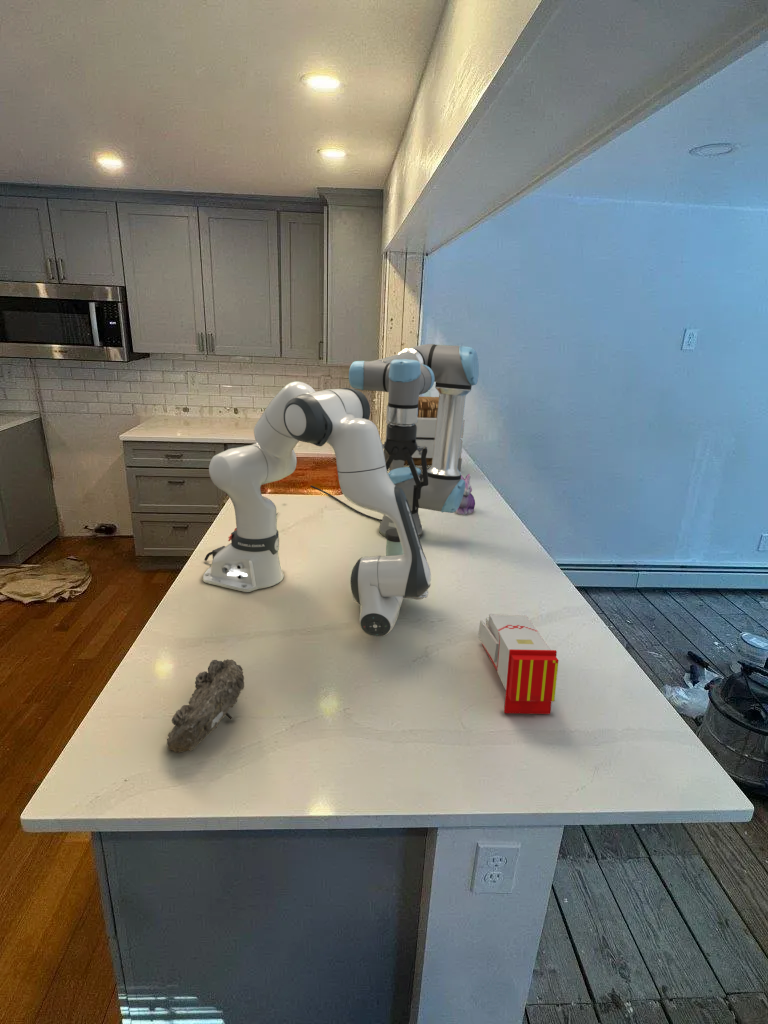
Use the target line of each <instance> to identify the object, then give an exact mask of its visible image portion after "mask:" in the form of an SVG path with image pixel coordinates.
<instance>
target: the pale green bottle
mask: <svg viewBox="0 0 768 1024" xmlns="http://www.w3.org/2000/svg"><path fill="white" fill-rule="evenodd" d="M385 541H386V542H385V556H392V555H402V554H404V552H403V548H402V545H401V542H392V541H388V540H387V539H386V538H385Z"/></svg>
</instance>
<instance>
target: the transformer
mask: <svg viewBox="0 0 768 1024" xmlns="http://www.w3.org/2000/svg"><path fill="white" fill-rule="evenodd" d="M438 401H439V396H419V400H418V417H417V423H416V424H415V425H416V426H417V433H416V443H417V445H418V446H421V447H424V446H426V447H427V455H426V463H427V467H431V466H432V459H433V449H434V439H435V430H436V420H437V411H438ZM387 413H388V404H387V405H386V413H385V414H386V415H385V423H386V428H385V438H384V442H383V444H385V442H386V437H387V425H388V423H389V422H388V421H387ZM464 429H465V419H464V418H463V423H462V432H461V441H460V449H459V458H458V466H457V468H458V470H459V471H460V473H461V472H462V461H463V460H462V453H463V442H464V441H463V440H462V439H463V438H464V431H465V430H464ZM383 451H384V456H385V462H386V461H387V459H388V457H389V454H388V453H387V451H386V450H385V448H384V449H383ZM412 459H413V462H414V464H415V467H417V466H418V467H422V463H421V455H419V452H418V451H417V450H416V451H415V453H414V454H413V455H412ZM405 466H406V467H409V465H408V463H407V460H406V461H402V460H394V459H393V461H392V463H391V465H390V467H389V472H390V471H391V470H393V469H397V468H402V467H405ZM461 474H462V473H461Z"/></svg>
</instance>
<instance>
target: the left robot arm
mask: <svg viewBox="0 0 768 1024" xmlns="http://www.w3.org/2000/svg"><path fill="white" fill-rule="evenodd" d="M370 417H371V406H370V402H369V400H368V397H367V396H366V395H365V394H364V393H363V392H362V391H361V390H359V389H354V388H352V387H351V388H350V387H341V388H327V389H322V390H318V391H316V390H315V389H314V388H313V387H312V386H311V385H309V384H308V383H306V382H303V381H295V380H294V381H291V382H289V383H287V384H285V385H284V386H283V388H281V389H280V390H279V391H278V392H277V393H276V395H275V396H274V397H273V398H272V400H271V401H270V402H269V404H268V405H267V406H266V408H265V409H264V411H263V412H262V414H261V415H260V417H259V419H258V420H257V422H256V424H255V425H254V427H253V436H254V440H255V442H254V443H252V444H249V445H244V446H238V447H232V448H228V449H226V450H223V451H220V452H219V453H217V454H214V456H212V458H210V462H209V465H208V475H209V478H210V480H211V482H212V484H213V485H214V486H215V487H216V488H217V489H218V490H221V491H222V492H223V493H225V494H226V496H228V497H229V499H230V501H231V503H232V505H233V509H234V515H235V525H236V526H235V528H234V530H233V531H232V532H231V533H230V535H229V536H228V540H227V541H228V542H230V543H229V544H227V545H222V546H220V547H217V548H214V549H213V550H211V551H209V552H208V553H207V554H206V555H205V556H204V559H203V561H205V562H207V561H208V560H209V558H210V556H212V560H211V565H210V567H208V568H207V570H206V571H205V572H204V573H203V577H202V581H203V583H205V584H209V585H214V586H218V587H222V588H227V589H231V590H235V591H239V592H242V593H250V592H251V593H252V592H253V591H256V590H261V589H266V588H270V587H273V586H275V585H278V584H279V583H280V582H282V581H283V579H284V578H285V574H284V571H283V567H282V565H281V561H280V555H279V550H280V538H279V537H280V535H279V530H278V519H277V517H278V514H277V513H278V511H277V505H276V504H275V503H274V502H273V500H271V498H268V497H266V496H264V495H263V494H262V489H261V487H262V485H267V484H270V483H274V482H278V481H281V480H283V479H285V478H286V477H289V476H290V475H292V474H293V473H294V472H295V471H296V468H297V463H298V459H297V454H296V451H295V448H296V446H297V445H298V443H299V442H303V443H308V444H312V445H315V446H316V447H323V446H324V445H325V444H326V443H327V444H328V445H330V447H331V448H332V449H333V451H334V455H335V462H336V471H337V478H338V484H339V487H340V488H339V489H340V491H341V493H342V495H343V496H344V497H345V498H346V499H347V501H349V502H350V503H352V504H354V505H355V506H356V507H359V508H362V509H366V510H369V511H371V512H372V511H373V512H375V513H378V514H381V515H382V516H383V515H385V516H387V517H389V518H390V519H391V520H392V521H393V522H394V524H395V526H396V529H397V532H398V535H399V539H400V542H401V545H402V548H403V552H404V554H402V555H392V556H386V555H372V556H361V557H360V558H359V559H357V561H356V562H355V563H354V565H353V567H352V570H351V574H350V590H351V593H352V599H353V600H352V601H353V602H355V603H357V604H358V605H359V607H360V611H359V626H360V629H361V630H362V631H363V632H364V633H365V634H367V635H369V636H371V637H383V636H386V635H388V634H389V633H390V632H392V630H393V629H394V627H395V625H396V623H397V620H398V618H399V615H400V609H401V607H402V604H403V600H404V599H407V600H415V601H420V600H423V599H426V598H428V596H429V588H430V587H431V584H432V583H431V581H432V571H431V568H430V564H429V562H428V560H427V557H426V554H425V552H424V549H423V546H422V543H421V539H420V537H419V536H418V533H417V529H416V526H415V523H414V519H413V516H412V513H411V510H410V507H409V504H408V501H407V498H406V496H405V494H404V492H403V490H402V489H401V488H400V487H398V486H395V485H394V483H393V482H392V481H391V479H390V477H389V475H388V473H389V472H388V471H387V469H386V462H385V456H384V449H383V446H382V444H383V442H382V438H381V435H380V432H379V429H378V426H377V425H376V423H374V422H373V421H372V420H370Z"/></svg>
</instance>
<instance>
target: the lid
mask: <svg viewBox="0 0 768 1024" xmlns="http://www.w3.org/2000/svg"><path fill="white" fill-rule="evenodd" d="M384 539H385V540H386V539H387V540H388V541H392V542H400V539H399V535H398V532H397V529H396V528H393V529H388V530H386V533H385V538H384Z"/></svg>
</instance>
